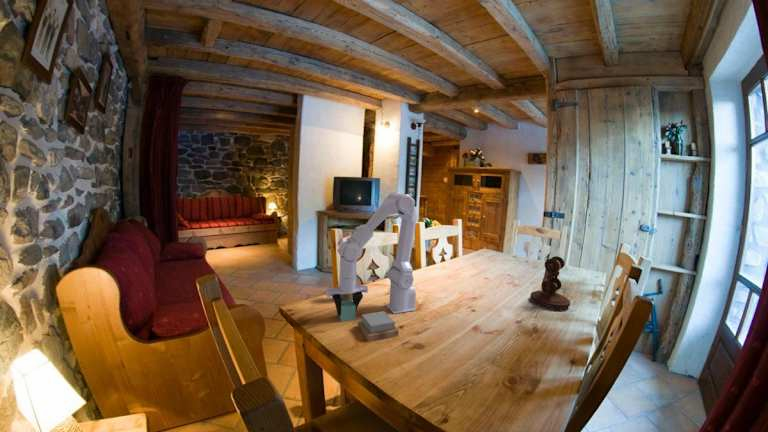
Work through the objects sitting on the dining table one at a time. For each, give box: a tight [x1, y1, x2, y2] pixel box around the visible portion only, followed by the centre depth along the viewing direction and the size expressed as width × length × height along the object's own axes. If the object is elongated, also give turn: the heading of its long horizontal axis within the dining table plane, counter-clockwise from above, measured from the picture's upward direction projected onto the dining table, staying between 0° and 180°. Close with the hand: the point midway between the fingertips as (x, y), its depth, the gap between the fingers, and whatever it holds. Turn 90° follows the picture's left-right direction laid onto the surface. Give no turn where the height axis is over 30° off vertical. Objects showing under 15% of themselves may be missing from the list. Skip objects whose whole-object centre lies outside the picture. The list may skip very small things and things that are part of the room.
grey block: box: [361, 310, 396, 334], centre depth 98 cm, size 8×8×2 cm
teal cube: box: [337, 300, 357, 322], centre depth 106 cm, size 5×5×5 cm
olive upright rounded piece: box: [340, 294, 353, 301], centre depth 121 cm, size 6×6×11 cm
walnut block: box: [357, 319, 399, 342], centre depth 98 cm, size 10×10×2 cm
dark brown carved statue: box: [530, 255, 571, 312], centre depth 126 cm, size 15×15×20 cm
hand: (346, 313), depth 106 cm, fingers closed on teal cube, 5 cm apart
